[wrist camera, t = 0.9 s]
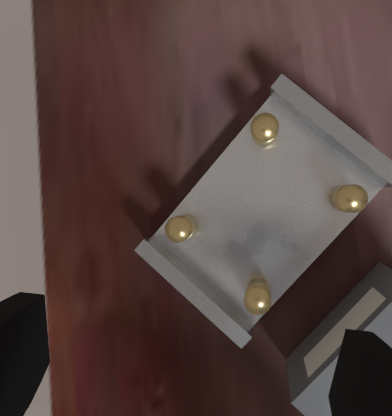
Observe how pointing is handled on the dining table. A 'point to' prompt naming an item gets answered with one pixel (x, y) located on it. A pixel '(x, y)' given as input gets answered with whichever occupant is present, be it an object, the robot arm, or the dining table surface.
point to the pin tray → (266, 209)
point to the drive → (338, 340)
